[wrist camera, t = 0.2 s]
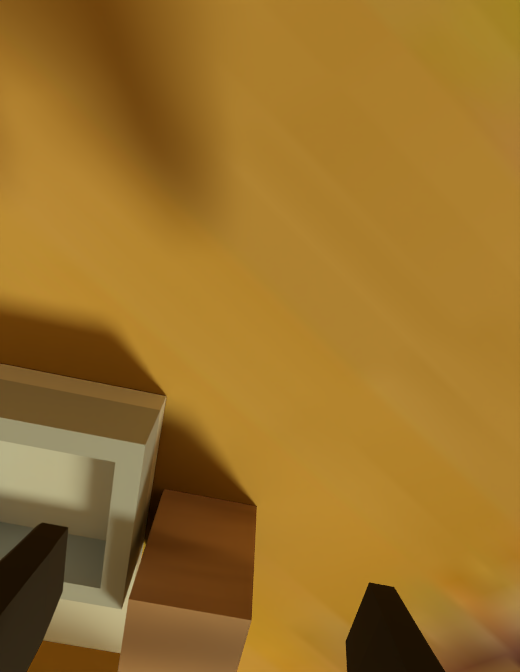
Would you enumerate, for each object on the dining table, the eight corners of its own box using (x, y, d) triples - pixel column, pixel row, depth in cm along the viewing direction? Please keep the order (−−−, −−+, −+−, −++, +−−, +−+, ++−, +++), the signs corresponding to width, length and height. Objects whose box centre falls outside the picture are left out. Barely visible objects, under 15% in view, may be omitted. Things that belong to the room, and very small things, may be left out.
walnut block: (240, 566, 24) (231, 690, 19) (153, 551, 24) (117, 672, 19) (256, 505, 23) (251, 620, 17) (163, 488, 23) (128, 599, 17)
